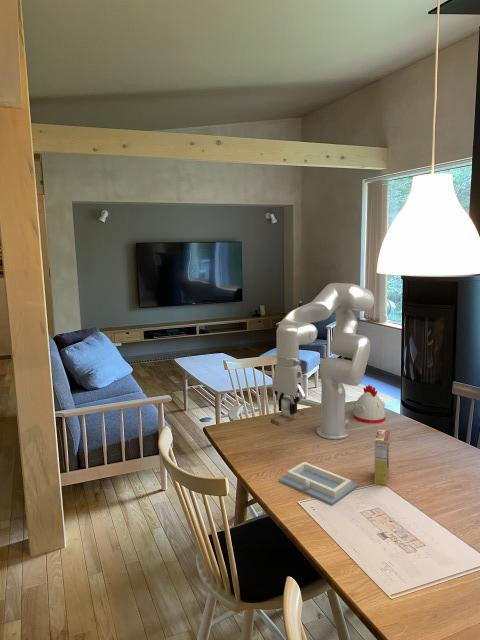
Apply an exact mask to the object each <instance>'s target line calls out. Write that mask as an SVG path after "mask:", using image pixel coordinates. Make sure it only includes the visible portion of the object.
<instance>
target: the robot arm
mask: <svg viewBox="0 0 480 640" xmlns="http://www.w3.org/2000/svg"><path fill="white" fill-rule="evenodd" d="M374 304H375V296H374V294H373V292H372V291H371V290H370V289H367V288H365V287H363V286H362V285H361V286H360V285H359V284H355V283H345V282H344V283H343V282H331V283H329V284H326V286H325V287H324V288H323V289H322V290H321V291H320V292H319V293H318V295H317V296H315V298H314V299H313V300H312V301H311V302H309V303H306V304H304V305H301V306H299V307H297V308H295V309H293V310H291V311H290V312H288V313H287V314H286V315H285V317H284V318H282V320H281V321H280V322H279V324H278V327H277V328H276V363H275V366H274V372H273V384H272V385H271V387H270V389H271V390H272V392H273V393H274V395H275V396H276V399H277V400H278V402H277V403H278V406H277V407H278V412H281V399H282V398H283V397H286V396H285V395H289V397H290V398H291V404H290V415H293V414H295V413H297V410H298V403H299V402H300V400H302V399H304V398H306V393H304V377H303V370H302V366H301V363H302V361H301V360H300V355H299V351H300V349H299V346H301V345H303V346H304V345H311V344H312V343H313V342H315V340H316V339H317V337H318V329H317V327H316V326H315V325H314V324H312V323H317V322H322V321H326V320H327V319H329V318H330V316H332V314H333V313H334V312H335V315H336V323H335V325H334V330H333V334H332V336H331V340H330V344H329V350H330V352H331V353H332V354H333V355H335V356H340V357H345V358H351V359H352V360H349V359H344V358H339V357H334V356H331V357H329V356H328V357H324V358H323V359H322V360H321V361H320V363H319V366H318V367H319V368H318V370H319V371H318V372H319V377H320V383H321V386H320V387H321V388H320V389H321V395H320V398H321V400H320V402H321V403H320V406H321V408H320V426H319V427H318V428H317V429H316V434H317V435H318V436H319V437H321V438H324V439H328V440H343V439H345V438H347V437H348V436H349V430H348V429H347V428H346V427H347V425H348V424H350V419H349V418H346V389H345V386H344V385H346V386H354V387H356V386H359V385H360V384H361V383H362V381H363V379H364V376H365V372H366V368H367V365H368V362H369V359H370V354H371V341H370V339H369V337H367V336H366V335H363V334H357V329H358V319H357V317H356V315H355V314H354V312H353V311H358V312H369V311H370V310H371V309H372V308H373V307H374Z"/></svg>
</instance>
